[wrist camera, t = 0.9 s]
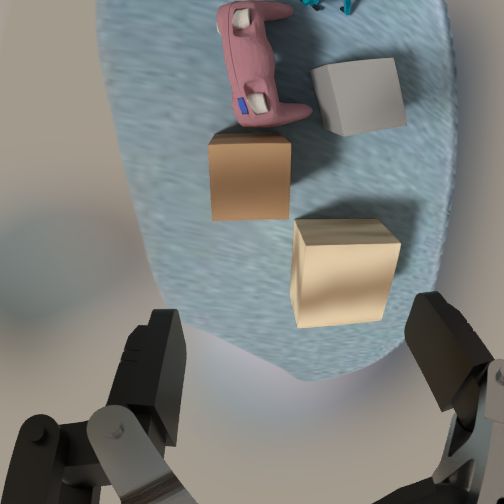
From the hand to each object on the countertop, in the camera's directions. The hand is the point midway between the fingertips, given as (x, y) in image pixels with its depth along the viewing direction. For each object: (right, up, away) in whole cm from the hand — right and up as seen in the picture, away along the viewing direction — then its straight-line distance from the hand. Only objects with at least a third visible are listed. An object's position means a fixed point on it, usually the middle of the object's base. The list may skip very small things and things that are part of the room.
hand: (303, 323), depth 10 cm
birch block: (+6, +2, +19) cm, 20 cm away
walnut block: (-2, +9, +15) cm, 17 cm away
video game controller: (-1, +17, +11) cm, 20 cm away
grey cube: (+6, +15, +12) cm, 20 cm away
